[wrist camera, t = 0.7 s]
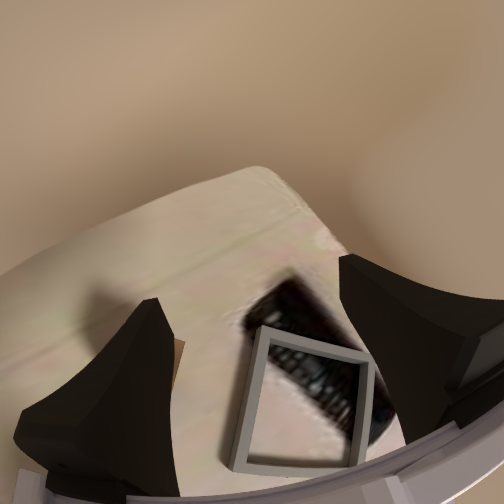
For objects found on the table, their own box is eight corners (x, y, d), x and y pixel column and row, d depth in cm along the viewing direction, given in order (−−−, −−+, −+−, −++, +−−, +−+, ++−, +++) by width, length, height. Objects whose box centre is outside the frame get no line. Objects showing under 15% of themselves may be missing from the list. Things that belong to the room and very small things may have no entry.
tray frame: (353, 474, 23) (362, 475, 22) (227, 468, 20) (232, 471, 19) (367, 357, 31) (375, 354, 30) (256, 329, 28) (262, 325, 27)
